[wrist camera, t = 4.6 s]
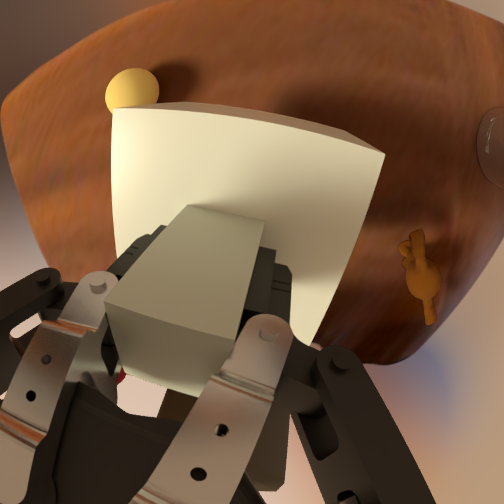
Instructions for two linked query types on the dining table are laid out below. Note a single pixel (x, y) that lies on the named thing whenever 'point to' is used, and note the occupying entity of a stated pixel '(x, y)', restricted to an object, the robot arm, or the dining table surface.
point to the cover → (225, 227)
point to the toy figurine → (420, 273)
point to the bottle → (266, 449)
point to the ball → (132, 89)
